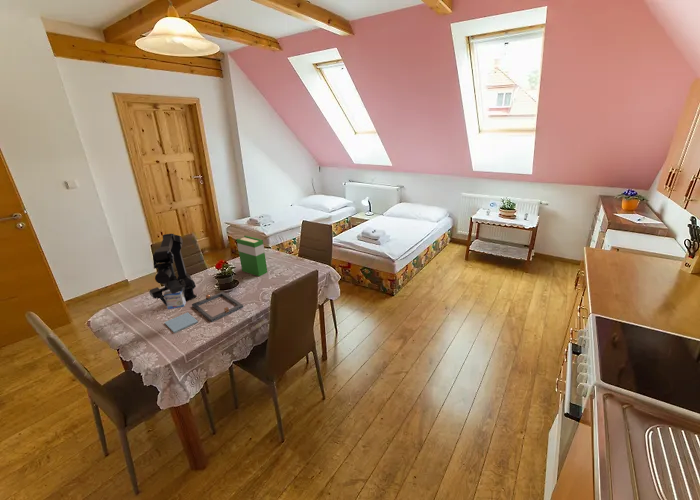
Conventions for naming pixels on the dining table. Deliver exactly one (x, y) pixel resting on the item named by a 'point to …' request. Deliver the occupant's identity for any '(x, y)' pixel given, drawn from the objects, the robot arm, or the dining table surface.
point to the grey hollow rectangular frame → (226, 310)
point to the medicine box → (174, 299)
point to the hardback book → (252, 255)
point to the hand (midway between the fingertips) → (175, 301)
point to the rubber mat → (181, 322)
